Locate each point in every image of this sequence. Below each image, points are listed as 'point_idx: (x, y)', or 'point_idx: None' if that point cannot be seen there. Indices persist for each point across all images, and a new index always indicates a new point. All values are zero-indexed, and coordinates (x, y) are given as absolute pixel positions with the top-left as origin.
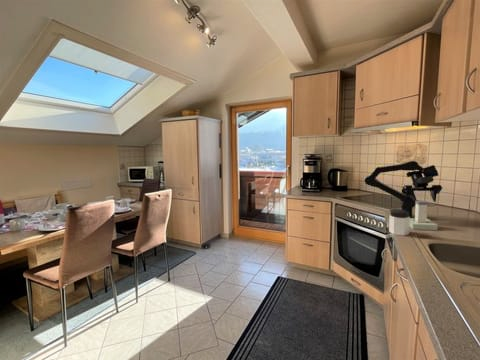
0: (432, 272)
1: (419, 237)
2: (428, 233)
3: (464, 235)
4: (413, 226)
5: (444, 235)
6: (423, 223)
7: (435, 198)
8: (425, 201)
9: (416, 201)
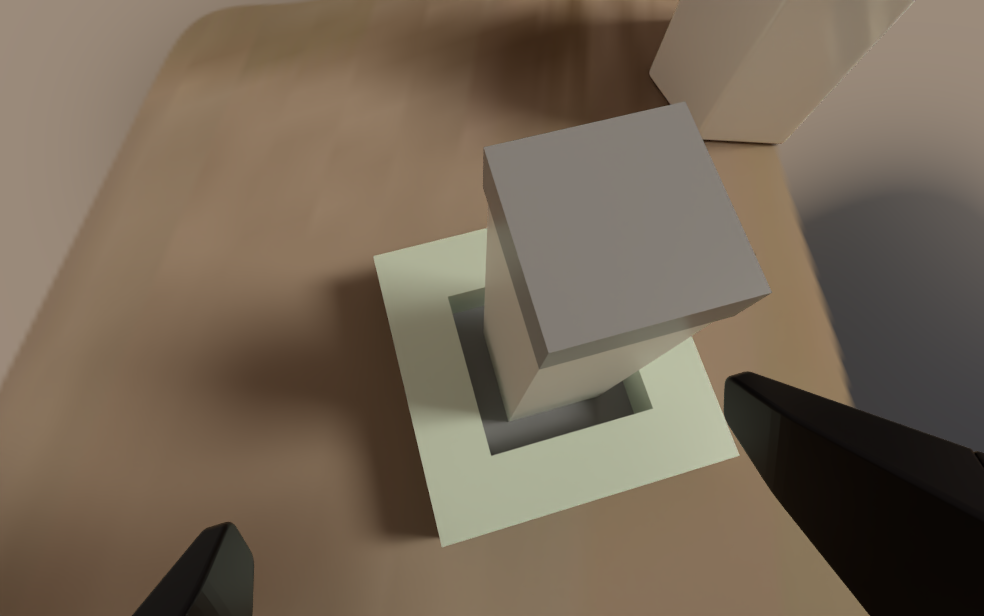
0: None
1: (568, 24)
2: None
3: (180, 199)
4: None
5: (358, 140)
6: None
7: (156, 601)
8: (522, 238)
9: (736, 231)
